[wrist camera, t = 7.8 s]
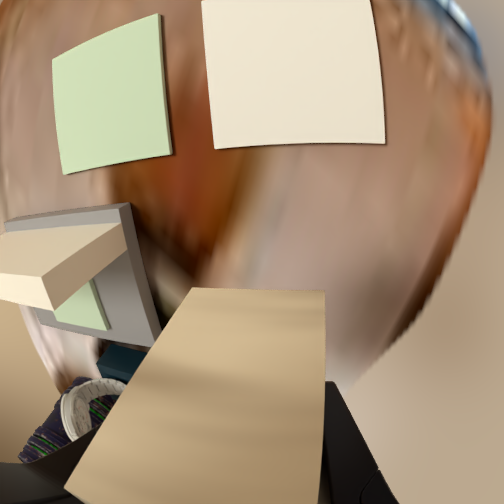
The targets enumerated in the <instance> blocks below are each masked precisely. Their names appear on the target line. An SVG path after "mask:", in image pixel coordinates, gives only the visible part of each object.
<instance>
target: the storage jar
mask: <svg viewBox="0 0 504 504" xmlns="http://www.w3.org/2000/svg"><path fill="white" fill-rule="evenodd" d="M91 380H93V379H90V378H87V377H82V376H81V377H77V378H76V379H75V380H74V381H73V383H72V385H71V386H69V388H68V389H67V390H65V391H64V393H63V394H62V395H61V397H60V399H59V400H58V401H57V403H56V404H55V406H54V410H53V411H52V413H51V414H50V415H49V417H48V418H47V420H46V421H45V422H44V423H43V425H42V426H39V427H38V428H37V429H36V430H35V432H34V434H33V436H31V437H30V438H29V439H28V441H27V443H28V444H26V445H25V447H24V448H23V449H24V450H23V452H20V454H19V455H18V458H19V459H20V460H21V461H22V462H23V463H28V462H32V461H35V460H38V459H40V458H42V457H44V456H46V455H48V454H50V453H52V452H54V451H56V450H58V449H60V448H62V447H64V446H65V445H67V444H69V443H71V442H73V441H72V440H71V439H70V438H69V437H68V435H67V433H66V431H65V428H64V425H63V421H62V417H61V400H62V397H63V395H64V394H69V392H70V391H71V390H72V389H73V388H74V387H75V386H80V385H82V384H83V383H85V382H88V381H91ZM91 382H92V381H91ZM88 389H89V388H88ZM89 391H90V390H89ZM90 393H91V392H90ZM116 401H117V400H114V399H112V397H111V395H107V394H106V395H103V396H99V395H98V397H97V398H95V399H93V400H92V399H91V401H90V402H89V403H87V404H89V406H90V408H89V414H90V418H91V425H92V429H93V428H96V426H97V425H99V424H100V423H102V422H103V421H104V420H105V419H106V417H107V416H108V414H109V412H110V411H111V409H112V408H113V406H114V405H115V403H116Z"/></svg>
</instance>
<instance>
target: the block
mask: <svg viewBox="0 0 504 504" xmlns="http://www.w3.org/2000/svg"><path fill="white" fill-rule="evenodd" d="M324 402H325V290H254V289H219V288H193V287H192V288H191V290H190V291H189V293H188V294H187V296H186V297H185V299H184V300H183V302H182V303H181V304H180V306H179V307H178V309H177V310H176V312H175V313H174V315H173V316H172V318H171V319H170V321H169V322H168V324H167V325H166V327H165V328H164V330H163V331H162V333H161V334H160V336H159V337H158V339H157V340H156V342H155V343H154V345H153V346H152V348H151V349H150V351H149V352H148V354H147V355H146V357H145V358H144V360H143V361H142V363H141V364H140V366H139V367H138V369H137V370H136V372H135V374H134V375H133V377H132V378H131V380H130V381H129V383H128V384H127V386H126V387H125V389H124V391H123V392H122V394H121V395H120V397H119V398H118V400H117V401H116V403H115V405H114V406H113V408H112V409H111V411H110V412H109V414H108V416H107V417H106V419H105V420H104V422H103V424H102V425H101V427H100V428H99V430H98V432H97V433H96V435H95V436H94V438H93V440H92V441H91V443H90V445H89V446H88V448H87V450H86V451H85V453H84V454H83V456H82V458H81V459H80V461H79V463H78V464H77V466H76V468H75V469H74V471H73V473H72V474H71V476H70V478H69V479H68V481H67V483H66V485H65V486H64V488H65V489H66V490H67V491H69V492H70V493H71V494H72V495H74V496H75V497H76V498H78V499H79V500H81V501H82V502H83V503H85V504H317V502H318V492H319V482H320V471H321V458H322V443H323V426H324Z"/></svg>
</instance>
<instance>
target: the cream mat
mask: <svg viewBox="0 0 504 504" xmlns="http://www.w3.org/2000/svg"><path fill="white" fill-rule="evenodd" d="M201 3H202V17H203V30H204V42H205V54H206V66H207V77H208V88H209V98H210V108H211V119H212V128H213V138H214V147H215V149H220V148H230V147H242V146H255V145H271V144H293V143H381V144H385V127H384V108H383V93H382V82H381V72H380V63H379V54H378V47H377V40H376V33H375V27H374V21H373V15H372V10H371V5H370V0H205V1H201Z"/></svg>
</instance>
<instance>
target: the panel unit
mask: <svg viewBox="0 0 504 504" xmlns="http://www.w3.org/2000/svg"><path fill="white" fill-rule="evenodd" d="M4 225H5V228H6V233H4V234H2V235H1V236H0V299H2V300H6V301H10V302H14V303H19V304H23V305H28V306H32V307H33V308H34V310H35V312H36V315H37V317H38V319H39V321H40V323H41V324H43V325H46V326H50V327H54V328H58V329H62V330H67V331H71V332H75V333H80V334H84V335H89V336H93V337H98V338H103V339H108V340H114V341H119V342H125V343H130V344H136V345H142V346H148V347H152V346H153V345H154V343H155V342H156V340H157V339H158V337H159V336H160V334H161V333H162V330H161V327H160V323H159V320H158V317H157V313H156V310H155V306H154V303H153V299H152V296H151V292H150V288H149V285H148V281H147V277H146V273H145V269H144V265H143V261H142V257H141V253H140V248H139V244H138V240H137V235H136V231H135V226H134V221H133V216H132V211H131V206H130V203H120V204H111V205H102V206H93V207H85V208H77V209H69V210H62V211H55V212H48V213H41V214H35V215H28V216H22V217H16V218H13V219H11V220H9V221H7V222H5V223H4Z"/></svg>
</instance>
